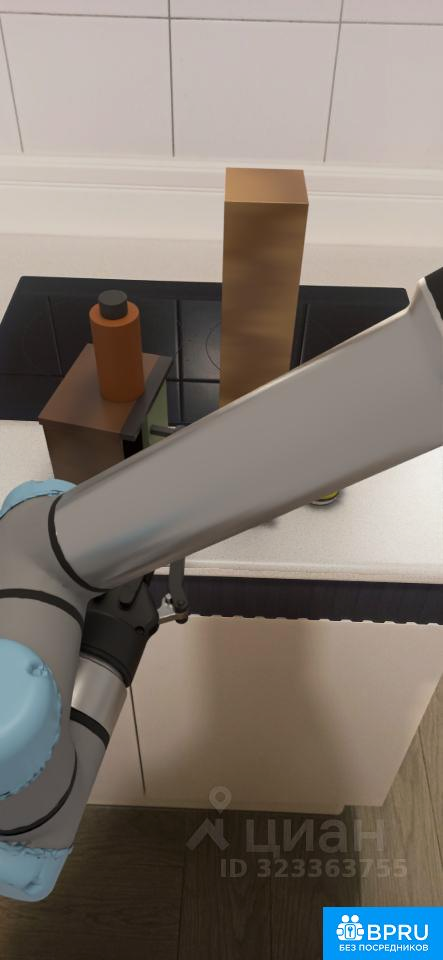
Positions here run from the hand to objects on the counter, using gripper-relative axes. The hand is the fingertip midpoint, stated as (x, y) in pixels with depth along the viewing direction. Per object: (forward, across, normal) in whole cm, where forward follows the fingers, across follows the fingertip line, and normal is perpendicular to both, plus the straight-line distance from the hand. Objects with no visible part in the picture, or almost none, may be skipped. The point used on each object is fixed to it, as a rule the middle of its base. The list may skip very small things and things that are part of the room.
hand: (173, 469), depth 69 cm
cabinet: (+4, -9, -6) cm, 11 cm away
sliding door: (+6, -2, -5) cm, 8 cm away
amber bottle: (+4, -7, +6) cm, 10 cm away
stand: (+3, +7, -6) cm, 10 cm away
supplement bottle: (+7, +15, -6) cm, 18 cm away
